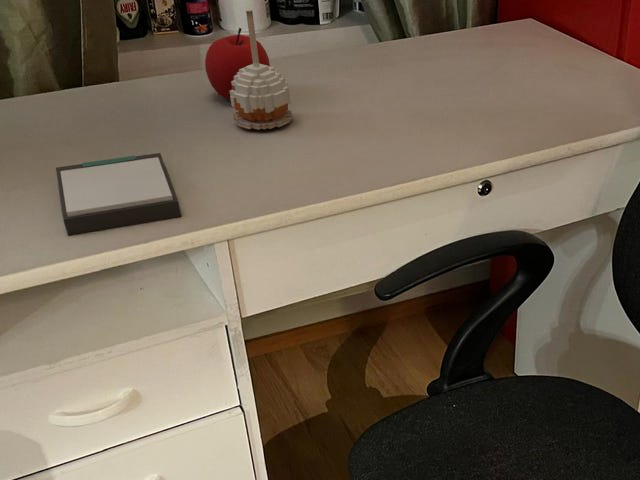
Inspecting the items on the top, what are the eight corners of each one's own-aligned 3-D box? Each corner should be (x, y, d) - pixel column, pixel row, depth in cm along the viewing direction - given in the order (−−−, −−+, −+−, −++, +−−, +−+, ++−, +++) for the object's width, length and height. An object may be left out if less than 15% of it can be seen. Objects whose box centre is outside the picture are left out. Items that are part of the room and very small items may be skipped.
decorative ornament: (261, 107, 125) (247, -1, 116) (303, 119, 122) (292, 8, 112) (223, 124, 119) (205, 12, 110) (265, 137, 116) (250, 22, 107)
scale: (60, 182, 104) (54, 162, 102) (163, 167, 108) (159, 147, 106) (68, 235, 94) (61, 214, 92) (181, 216, 98) (177, 195, 96)
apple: (241, 81, 133) (231, 14, 127) (286, 93, 129) (279, 24, 123) (197, 100, 126) (185, 29, 120) (244, 112, 123) (234, 41, 117)
